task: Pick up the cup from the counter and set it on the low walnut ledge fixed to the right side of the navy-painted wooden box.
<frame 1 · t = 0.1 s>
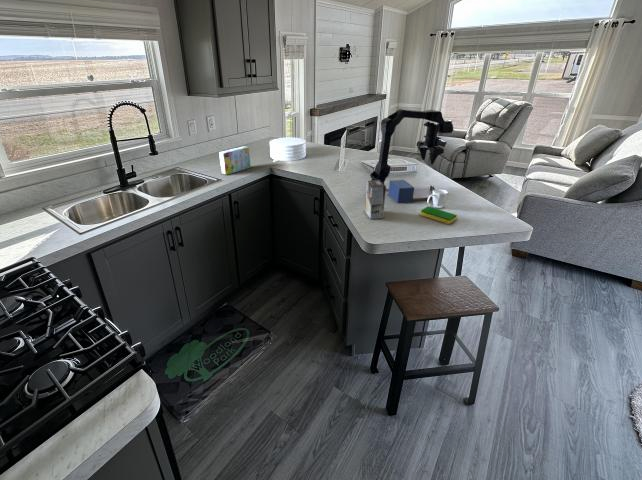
hand: (427, 162, 182), 15 cm above the countertop, tool pointing down, fingers open, 9 cm apart
plate stack: (288, 155, 257), on the countertop
dish sponge: (437, 217, 152), on the countertop
coffee box: (373, 215, 157), on the countertop
cup: (435, 207, 163), on the countertop
snack box: (236, 171, 226), on the countertop
navy box: (399, 198, 174), on the countertop
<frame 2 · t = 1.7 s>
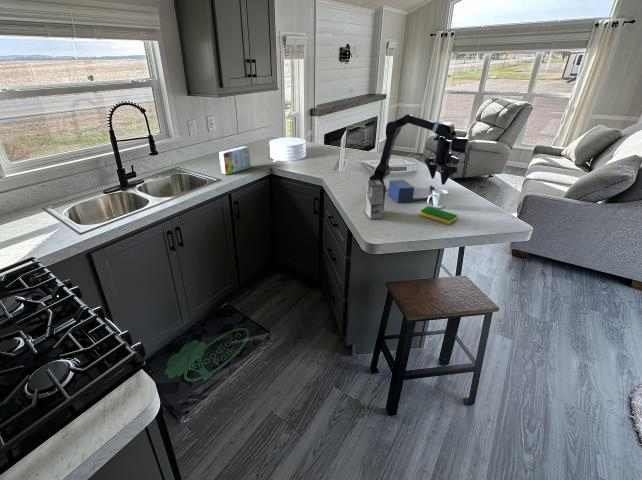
hand: (437, 181, 161), 12 cm above the countertop, tool pointing down, fingers open, 9 cm apart
nothing on the countertop moved.
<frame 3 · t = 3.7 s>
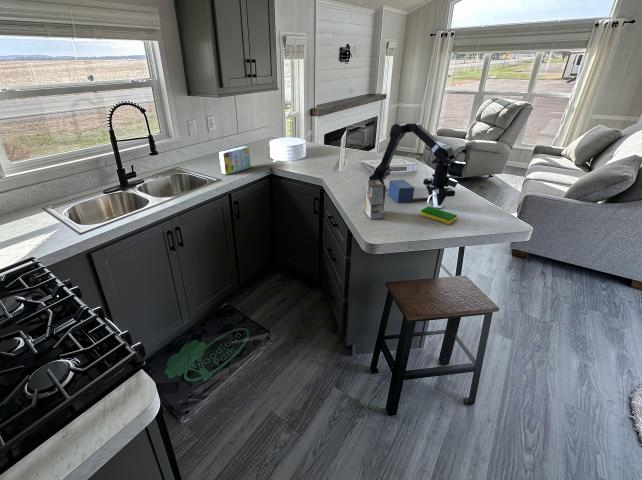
hand: (435, 203, 162), 2 cm above the countertop, tool pointing down, fingers closed on cup, 6 cm apart
cup: (435, 207, 163), on the countertop, touching gripper
everything else where it was.
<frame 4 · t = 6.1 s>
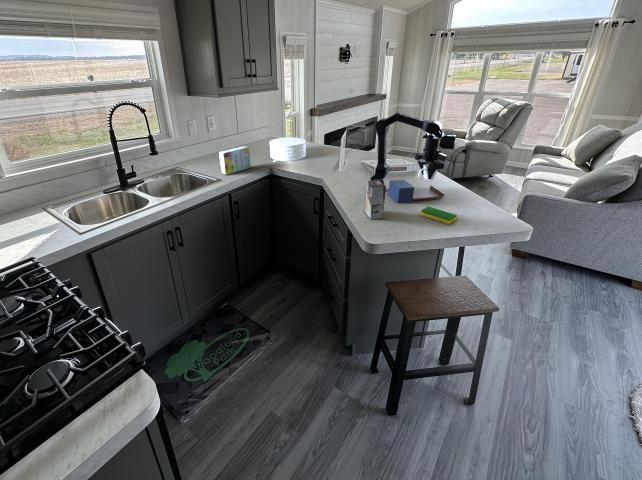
hand: (426, 177, 169), 12 cm above the countertop, tool pointing down, fingers closed on cup, 6 cm apart
cup: (425, 181, 169), point 10 cm above the countertop, touching gripper
everything else where it was.
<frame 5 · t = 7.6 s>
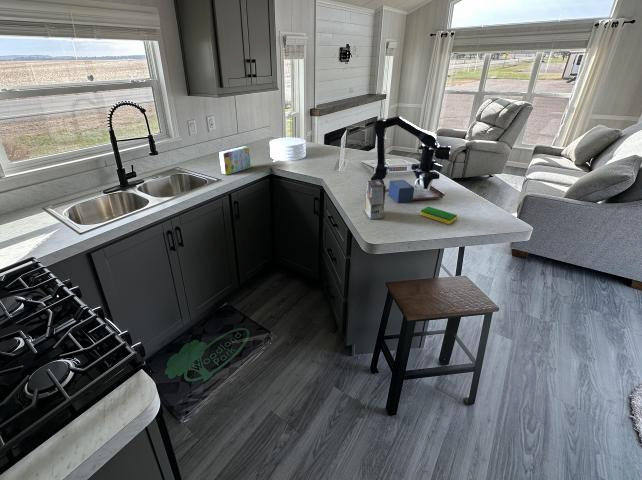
hand: (422, 186, 173), 6 cm above the countertop, tool pointing down, fingers closed on cup, 6 cm apart
cup: (422, 190, 174), point 3 cm above the countertop, touching gripper
everything else where it was.
when the fingers open (4 cm above the countertop, at t = 8.6 s): cup stays where it is, resting on navy box.
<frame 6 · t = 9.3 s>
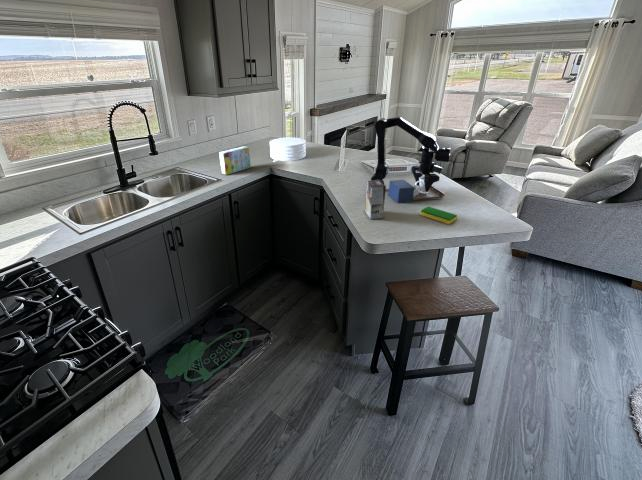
hand: (422, 188, 174), 4 cm above the countertop, tool pointing down, fingers open, 9 cm apart
cup: (421, 193, 175), point 2 cm above the countertop, touching navy box
everything else where it was.
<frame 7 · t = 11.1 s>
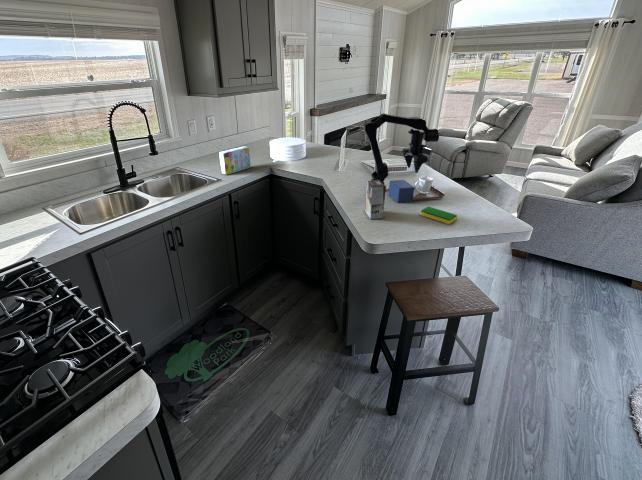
hand: (412, 170, 179), 12 cm above the countertop, tool pointing down, fingers open, 9 cm apart
nothing on the countertop moved.
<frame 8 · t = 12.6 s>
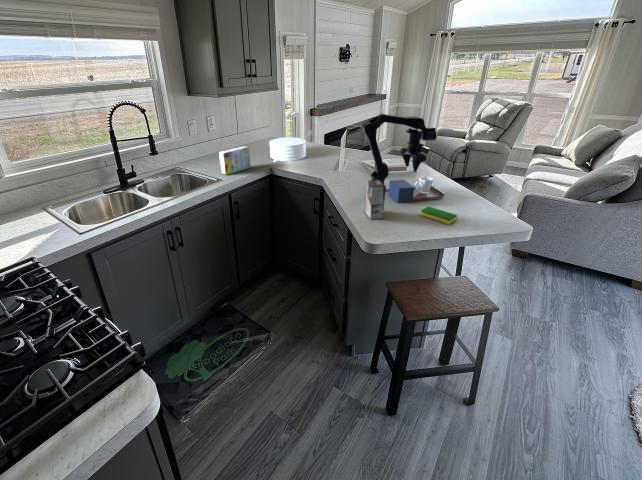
hand: (411, 169, 180), 12 cm above the countertop, tool pointing down, fingers open, 9 cm apart
nothing on the countertop moved.
at the end: cup inside the target area (0.1 cm from its centre), point 1.8 cm above the countertop; cup tilted 0°; the gripper is holding nothing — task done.
